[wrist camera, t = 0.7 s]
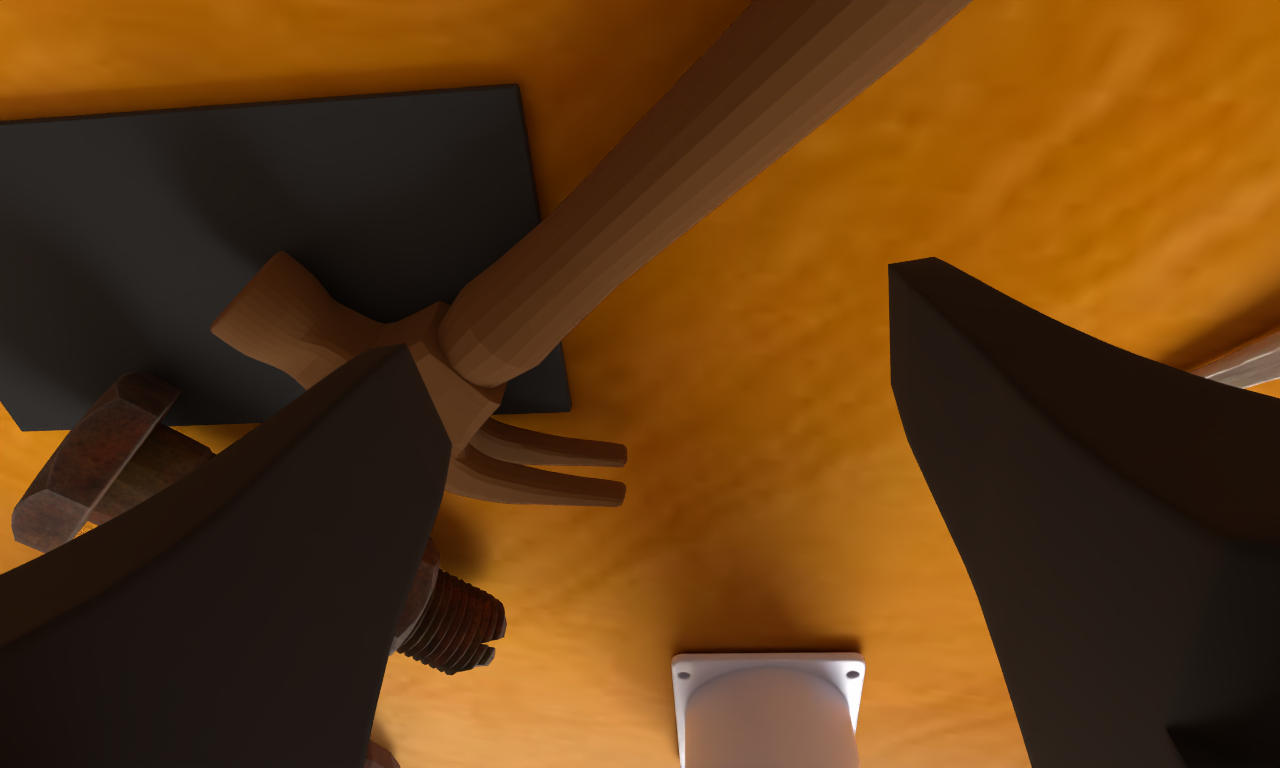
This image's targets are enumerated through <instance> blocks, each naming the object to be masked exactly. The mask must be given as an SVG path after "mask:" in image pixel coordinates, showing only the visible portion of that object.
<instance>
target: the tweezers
mask: <svg viewBox="0 0 1280 768" xmlns="http://www.w3.org/2000/svg"><path fill="white" fill-rule="evenodd" d="M1190 373H1191V374H1194V375H1197V376H1201V377H1204V378H1207V379H1210V380H1214V381H1217V382H1220V383H1224V384H1227V385H1231V386H1234V387H1238V388H1242V389H1243V388H1247V387H1250V386H1254V385H1257V384H1261V383H1264V382H1267V381H1271V380H1275V379H1280V331H1278V332H1276V333H1274V334H1272V335H1270V336H1268V337H1266V338H1264V339H1262V340H1260V341H1257V342H1255V343H1253V344H1251V345H1249V346H1247V347H1245V348H1243V349H1241V350H1238V351H1236V352H1234V353H1232V354H1230V355H1228V356H1226V357H1223V358H1221V359H1219V360H1217V361H1214V362H1212V363H1210V364H1208V365H1206V366H1203V367H1201V368H1199V369H1197V370H1194V371H1192V372H1190Z"/></svg>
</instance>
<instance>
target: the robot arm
mask: <svg viewBox="0 0 1280 768" xmlns="http://www.w3.org/2000/svg"><path fill="white" fill-rule="evenodd" d="M888 277H889V321H890V365H891V386H892V389H893V393H894V396H895V400H896V403H897V407H898V410H899V414H900V417H901V420H902V424H903V427H904V430H905V433H906V437H907V440H908V442H909V444H910V447H911V449H912V451H913V454H914V456H915V458H916V460H917V462H918V465H919V467H920V469H921V471H922V473H923V476H924V478H925V480H926V482H927V484H928V487H929V489H930V491H931V493H932V495H933V497H934V500H935V502H936V504H937V506H938V508H939V510H940V512H941V515H942V517H943V519H944V521H945V523H946V525H947V528H948V530H949V532H950V534H951V536H952V538H953V541H954V543H955V545H956V547H957V549H958V551H959V554H960V556H961V558H962V560H963V562H964V564H965V567H966V569H967V572H968V574H969V577H970V579H971V581H972V584H973V586H974V589H975V591H976V594H977V597H978V599H979V602H980V605H981V608H982V611H983V615H984V618H985V621H986V624H987V627H988V630H989V633H990V636H991V639H992V642H993V645H994V648H995V651H996V654H997V657H998V660H999V663H1000V666H1001V669H1002V672H1003V675H1004V679H1005V682H1006V685H1007V688H1008V691H1009V694H1010V698H1011V701H1012V704H1013V707H1014V710H1015V713H1016V717H1017V720H1018V723H1019V726H1020V729H1021V733H1022V736H1023V739H1024V742H1025V746H1026V749H1027V753H1028V756H1029V759H1030V763H1031V766H1032V768H1280V399H1279V398H1275V397H1272V396H1268V395H1264V394H1260V393H1257V392H1253V391H1249V390H1246V389H1242V388H1238V387H1234V386H1231V385H1227V384H1224V383H1220V382H1217V381H1214V380H1210V379H1207V378H1204V377H1201V376H1197V375H1194V374H1191V373H1188V372H1185V371H1182V370H1179V369H1176V368H1174V367H1171V366H1168V365H1165V364H1162V363H1159V362H1156V361H1154V360H1151V359H1148V358H1145V357H1142V356H1139V355H1136V354H1134V353H1131V352H1129V351H1126V350H1123V349H1121V348H1118V347H1116V346H1113V345H1111V344H1108V343H1106V342H1104V341H1101V340H1099V339H1097V338H1095V337H1092V336H1090V335H1088V334H1085V333H1083V332H1081V331H1079V330H1076V329H1074V328H1072V327H1070V326H1067V325H1065V324H1063V323H1061V322H1059V321H1057V320H1055V319H1052V318H1050V317H1048V316H1046V315H1044V314H1042V313H1040V312H1038V311H1036V310H1034V309H1032V308H1030V307H1028V306H1026V305H1024V304H1022V303H1020V302H1019V301H1017V300H1015V299H1013V298H1011V297H1009V296H1007V295H1005V294H1003V293H1002V292H1000V291H998V290H996V289H994V288H992V287H991V286H989V285H987V284H985V283H983V282H981V281H980V280H978V279H976V278H974V277H972V276H971V275H969V274H967V273H965V272H963V271H961V270H960V269H958V268H956V267H954V266H952V265H950V264H948V263H946V262H944V261H942V260H940V259H938V258H936V257H930V258H924V259H918V260H911V261H905V262H899V263H893V264H888ZM451 450H452V442H451V440H450V438H449V436H448V434H447V431H446V429H445V427H444V425H443V423H442V421H441V418H440V416H439V414H438V412H437V410H436V407H435V405H434V403H433V401H432V399H431V396H430V394H429V392H428V390H427V388H426V385H425V383H424V381H423V379H422V377H421V375H420V372H419V370H418V368H417V366H416V364H415V361H414V359H413V357H412V355H411V353H410V350H409V348H408V346H407V344H406V343H402V344H396V345H390V346H384V347H378V348H371V349H368V350H367V351H365V352H363V353H361V354H359V355H357V356H356V357H354V358H352V359H351V360H349V361H348V362H346V363H345V364H343V365H342V366H340V367H339V368H337V369H336V370H334V371H333V372H332V373H330V374H329V375H327V376H326V377H325V378H323V379H322V380H320V381H319V382H318V383H316V384H315V385H314V386H312V387H311V388H309V389H308V390H307V391H305V392H304V393H303V394H301V395H300V396H299V397H297V398H296V399H295V400H293V401H292V402H290V403H289V404H288V405H286V406H285V407H284V408H282V409H281V410H280V411H278V412H277V413H276V414H274V415H273V416H271V417H270V418H269V419H267V420H266V421H265V422H263V423H262V424H261V425H259V426H258V427H256V428H255V429H253V430H252V431H251V432H249V433H248V434H246V435H245V436H243V437H242V438H240V439H239V440H238V441H236V442H235V443H233V444H232V445H230V446H229V447H227V448H226V449H225V450H223V451H222V452H220V453H219V454H217V455H216V456H214V457H213V458H212V459H210V460H209V461H207V462H206V463H204V464H203V465H201V466H200V467H198V468H197V469H195V470H194V471H192V472H191V473H189V474H188V475H186V476H184V477H183V478H181V479H180V480H178V481H176V482H175V483H173V484H172V485H170V486H168V487H167V488H165V489H163V490H162V491H160V492H158V493H157V494H155V495H153V496H152V497H150V498H148V499H146V500H145V501H143V502H141V503H140V504H138V505H136V506H135V507H133V508H131V509H129V510H128V511H126V512H124V513H122V514H121V515H119V516H117V517H115V518H113V519H111V520H109V521H108V522H106V523H104V524H102V525H100V526H98V527H96V528H94V529H92V530H90V531H88V532H86V533H84V534H82V535H80V536H78V537H77V538H75V539H73V540H71V541H69V542H67V543H65V544H63V545H61V546H59V547H57V548H55V549H53V550H51V551H49V552H47V553H46V554H44V555H42V556H40V557H38V558H36V559H33V560H31V561H29V562H27V563H25V564H23V565H21V566H19V567H16V568H14V569H12V570H10V571H8V572H5V573H3V574H1V575H0V768H364V765H365V760H366V755H367V750H368V745H369V740H370V735H371V730H372V725H373V720H374V716H375V711H376V707H377V702H378V698H379V694H380V690H381V686H382V681H383V677H384V673H385V669H386V664H387V660H388V656H389V652H390V648H391V645H392V642H393V639H394V636H395V632H396V629H397V626H398V623H399V620H400V617H401V614H402V612H403V609H404V606H405V603H406V600H407V598H408V595H409V592H410V589H411V587H412V584H413V581H414V578H415V576H416V573H417V570H418V567H419V564H420V562H421V559H422V556H423V553H424V551H425V548H426V545H427V542H428V539H429V537H430V534H431V531H432V528H433V525H434V522H435V519H436V516H437V514H438V511H439V508H440V505H441V501H442V498H443V493H444V489H445V484H446V479H447V474H448V468H449V462H450V456H451ZM671 668H672V679H673V689H674V700H675V711H676V722H677V733H678V744H679V755H680V766H681V768H861V765H860V760H859V755H858V750H857V745H856V740H855V731H856V725H857V719H858V712H859V706H860V700H861V693H862V687H863V681H864V675H865V668H866V665H865V660H864V657H863V656H862V655H861V654H859V653H854V652H833V653H710V654H678V655H676V656H674V657H673V658H672V667H671Z"/></svg>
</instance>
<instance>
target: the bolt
mask: <svg viewBox="0 0 1280 768" xmlns="http://www.w3.org/2000/svg"><path fill="white" fill-rule="evenodd" d="M181 392H182V390H181V389H179V388H177V387H175V386H174V385H172V384H170V383H168V382H166V381H164V380H162V379H160V378H158V377H156V376H154V375H153V374H151V373H149V372H132V373H127V374H124V375H122V376H120V377H119V378H118V379H117V380H116V381H115V382H114V383H113V384H112V385H111V387H110V388H109V389H108V390H107V391H106V392H105V393H104V394H103V395H102V396H101V397H100V398H99V399H98V400H97V401H96V402H95V404H94V405H93V406H92V407H91V408H90V409H89V410H88V412H87V413H86V414H85V415H84V416H83V417H82V418H81V420H80V421H79V422H78V423H77V424H76V425H75V426H74V428H73V429H72V430H71V431H70V432H69V433H68V434H67V436H66V437H65V439H64V440H63V441H62V443H61V444H60V445H59V447H58V448H57V449H56V451H55V452H54V453H53V455H52V456H51V457H50V459H49V460H48V461H47V463H46V464H45V466H44V467H43V468H42V470H41V471H40V472H39V474H38V475H37V477H36V478H35V479H34V481H33V482H32V484H31V485H30V487H29V488H28V490H27V491H26V492H25V494H24V495H23V497H22V498H21V500H20V501H19V502H18V504H17V505H16V507H15V508H14V511H13V514H12V525H11V527H12V531H13V535H14V539H15V541H17V542H20V543H22V544H24V545H27V546H29V547H31V548H34V549H36V550H39V551H41V552H43V553H47V552H49V551H51V550H53V549H55V548H57V547H59V546H61V545H63V544H65V543H67V542H69V541H71V540H73V538H74V537H75V536H76V535H77V533H78V532H79V531H80V530H81V529H82V527H83V526H84V525H85V524H86V522H87V521H89V522H91V523H94V524H96V525H98V526H100V525H102V524H104V523H106V522H108V521H109V520H111V519H113V518H115V517H117V516H119V515H121V514H122V513H124V512H126V511H128V510H129V509H131V508H133V507H135V506H136V505H138V504H140V503H141V502H143V501H145V500H146V499H148V498H150V497H152V496H153V495H155V494H157V493H158V492H160V491H162V490H163V489H165V488H167V487H168V486H170V485H172V484H173V483H175V482H176V481H178V480H180V479H181V478H183V477H184V476H186V475H188V474H189V473H191V472H192V471H194V470H195V469H197V468H198V467H200V466H201V465H203V464H204V463H206V462H207V461H209V460H210V459H212V458H213V457H214V456H216V454H214V453H212V451H211V450H210V448H209V447H207V446H205V445H203V444H201V443H199V442H197V441H195V440H193V439H191V438H189V437H187V436H186V435H184V434H182V433H180V432H178V431H176V430H174V429H172V428H170V427H168V426H166V425H164V424H162V423H161V421H162V420H163V418H164V417H165V416H166V414H167V413H168V411H169V410H170V408H171V407H172V405H173V404H174V403H175V401H176V400H177V398H178V397H179V395H180V394H181ZM439 567H440V556H439V552H438V550H437V547H436V545H435V544H434V542H433V541H432V539H431V538H430V537H429V539H428V542H427V545H426V548H425V551H424V553H423V556H422V559H421V562H420V564H419V567H418V570H417V573H416V576H415V578H414V581H413V584H412V587H411V589H410V592H409V595H408V598H407V600H406V603H405V606H404V609H403V612H402V614H401V617H400V620H399V623H398V626H397V629H396V632H395V636H394V639H393V642H392V645H391V648H390V652H389V656H390V655H392V654H393V653H394V652H395V651H396V650H397V652H398V653H400V654H401V653H405V655H406V656H407V657H410V656H413V659H414V660H416V661H418V660H421V662H422V663H423V664H424V665H426V664H429V666H430V667H432V668H433V669H434V668H437V669H438V670H439V671H440V672H443V671H444V672H445V673H446V675H453V674H455V673H456V672H461V671H466V670H471V669H473V668H474V667H479V666H488V665H489V664H490V663H491V661H492V660H493V659H494V655H495V648H494V647H488V645H485V644H481V643H485V642H489V641H492V640H498V639H500V638H503V637H504V635H505V630H506V626H507V623H506V618H505V611H504V607H503V604H502V603H501V602H500V601H499V600H498V599H495V598H494V597H493V596H492V595H491V594H488V593H487V592H486V591H483V590H480V588H477V587H473V586H472V585H471V584H470V583H465V582H464V581H463V580H462V579H461V580H458V578H457V577H455V576H452V575H450V574H449V573H448V572H443V571H442V569H440V568H439ZM389 656H388V657H389Z"/></svg>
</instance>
